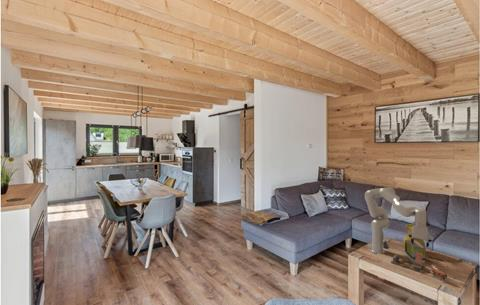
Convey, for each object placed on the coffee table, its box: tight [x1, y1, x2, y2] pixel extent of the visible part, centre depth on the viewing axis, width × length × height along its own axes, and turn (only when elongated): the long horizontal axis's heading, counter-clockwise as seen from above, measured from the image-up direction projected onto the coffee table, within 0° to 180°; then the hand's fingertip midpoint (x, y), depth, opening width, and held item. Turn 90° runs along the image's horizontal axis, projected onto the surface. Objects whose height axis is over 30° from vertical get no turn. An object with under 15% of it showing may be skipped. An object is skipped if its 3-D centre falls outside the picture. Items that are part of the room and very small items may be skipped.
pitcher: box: [402, 223, 426, 248], centre depth 229 cm, size 17×19×25 cm
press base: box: [390, 253, 426, 274], centre depth 202 cm, size 22×12×6 cm, turn 43°
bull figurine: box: [429, 264, 448, 283], centre depth 186 cm, size 4×13×8 cm, turn 7°
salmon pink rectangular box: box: [413, 252, 424, 270], centre depth 197 cm, size 5×8×13 cm, turn 133°
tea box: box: [404, 240, 426, 264], centre depth 214 cm, size 15×10×15 cm
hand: (419, 245), depth 195 cm, fingers open, 9 cm apart
